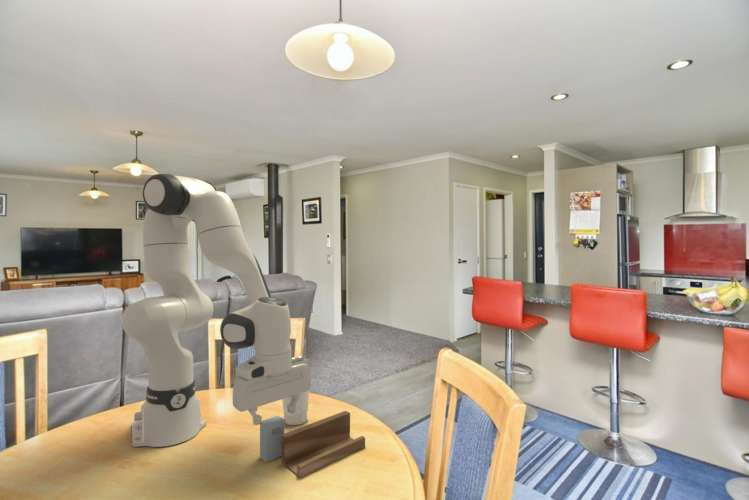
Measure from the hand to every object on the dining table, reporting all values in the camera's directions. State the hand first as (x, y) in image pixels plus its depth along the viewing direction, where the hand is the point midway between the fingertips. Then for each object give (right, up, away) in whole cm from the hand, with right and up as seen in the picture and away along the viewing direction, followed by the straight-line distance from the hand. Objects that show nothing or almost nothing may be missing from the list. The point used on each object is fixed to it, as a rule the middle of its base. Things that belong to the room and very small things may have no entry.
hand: (274, 417), depth 97 cm
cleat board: (+13, -10, +1) cm, 16 cm away
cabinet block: (-1, -10, 0) cm, 10 cm away
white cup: (+1, -10, +20) cm, 22 cm away
